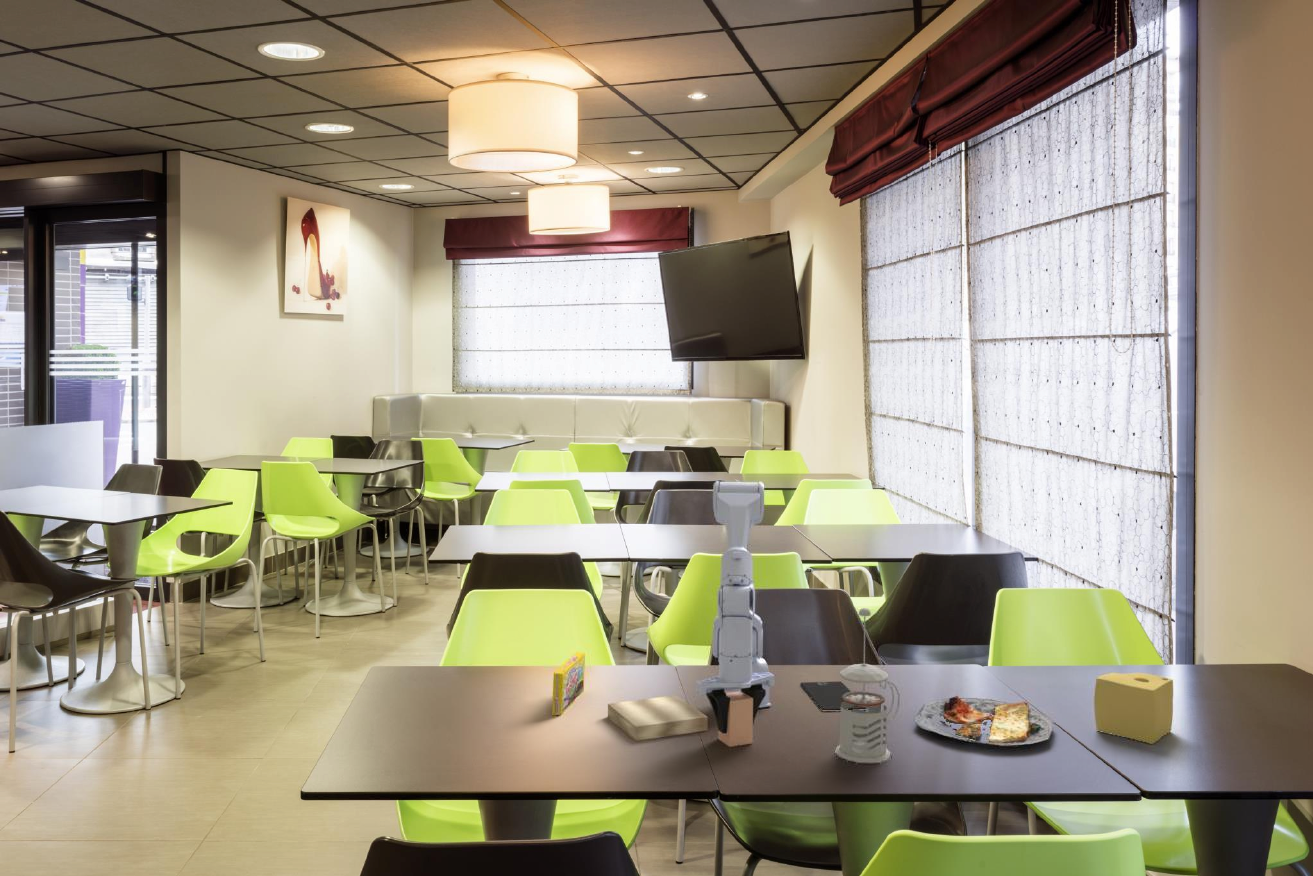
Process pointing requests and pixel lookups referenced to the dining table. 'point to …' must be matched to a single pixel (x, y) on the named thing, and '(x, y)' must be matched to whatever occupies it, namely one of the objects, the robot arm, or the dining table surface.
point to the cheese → (1134, 705)
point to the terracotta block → (738, 720)
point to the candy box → (568, 683)
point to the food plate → (1008, 722)
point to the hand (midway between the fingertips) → (735, 729)
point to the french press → (864, 714)
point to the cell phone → (828, 694)
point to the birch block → (657, 717)
